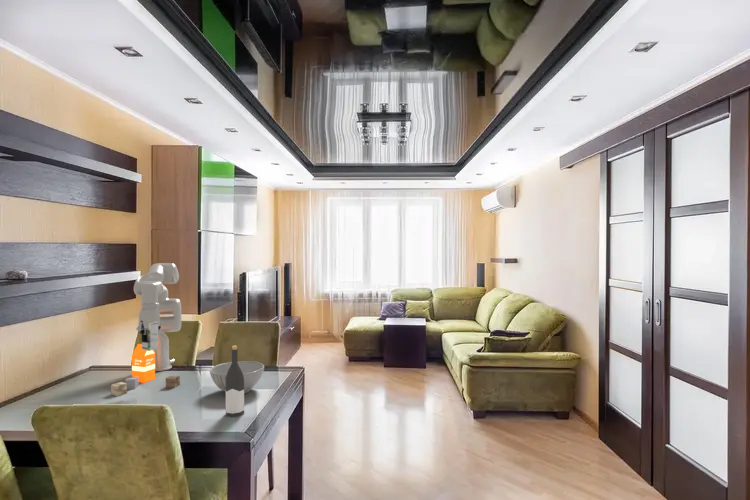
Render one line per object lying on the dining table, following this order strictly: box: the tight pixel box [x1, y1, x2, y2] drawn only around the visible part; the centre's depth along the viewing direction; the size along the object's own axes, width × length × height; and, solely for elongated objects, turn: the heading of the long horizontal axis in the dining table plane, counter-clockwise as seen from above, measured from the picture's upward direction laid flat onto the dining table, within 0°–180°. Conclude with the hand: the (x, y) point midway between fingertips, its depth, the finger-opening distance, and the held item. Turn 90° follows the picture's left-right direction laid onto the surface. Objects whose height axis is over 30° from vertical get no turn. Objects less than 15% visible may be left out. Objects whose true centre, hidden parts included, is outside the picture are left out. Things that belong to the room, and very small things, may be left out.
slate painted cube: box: [124, 376, 140, 390], centre depth 236 cm, size 5×5×5 cm
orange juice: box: [131, 343, 156, 384], centre depth 249 cm, size 8×9×20 cm
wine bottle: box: [225, 345, 245, 418], centre depth 198 cm, size 8×8×30 cm
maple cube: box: [110, 381, 128, 397], centre depth 226 cm, size 5×5×5 cm
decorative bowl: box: [209, 360, 265, 395], centre depth 229 cm, size 27×27×12 cm
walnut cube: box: [165, 375, 181, 389], centre depth 238 cm, size 5×5×5 cm
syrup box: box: [141, 322, 158, 351], centre depth 233 cm, size 6×6×14 cm
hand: (150, 340), depth 233 cm, fingers closed on syrup box, 6 cm apart
